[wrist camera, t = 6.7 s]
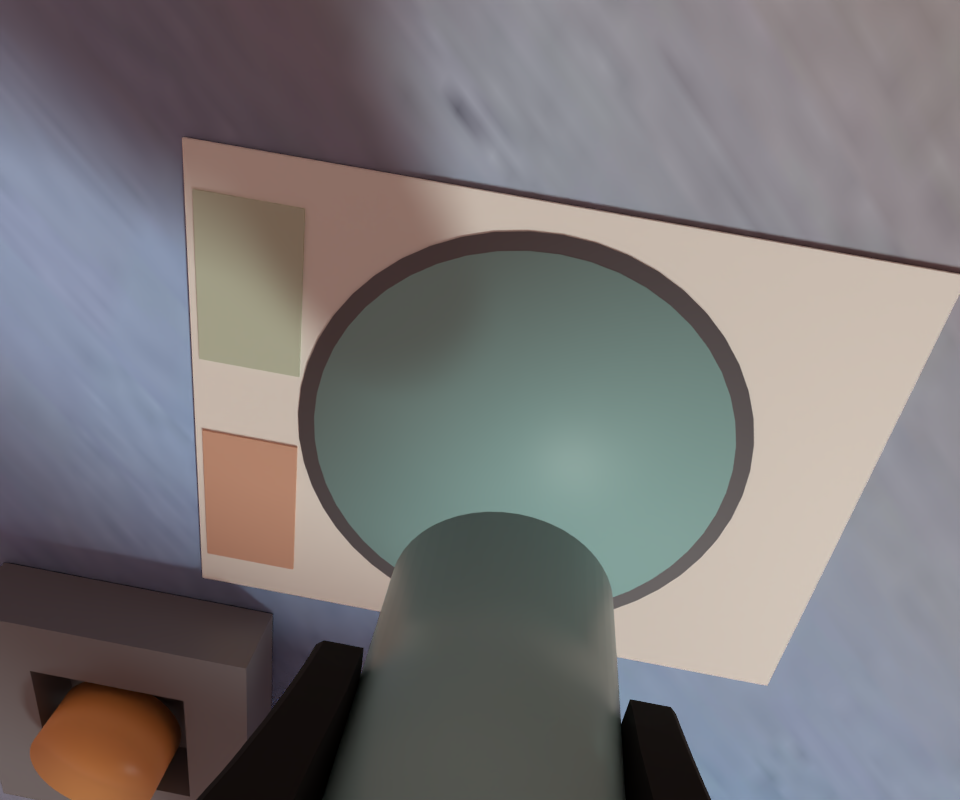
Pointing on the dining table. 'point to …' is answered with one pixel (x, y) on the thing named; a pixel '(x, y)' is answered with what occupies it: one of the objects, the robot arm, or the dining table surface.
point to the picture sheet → (536, 392)
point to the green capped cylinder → (488, 672)
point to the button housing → (129, 669)
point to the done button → (106, 744)
